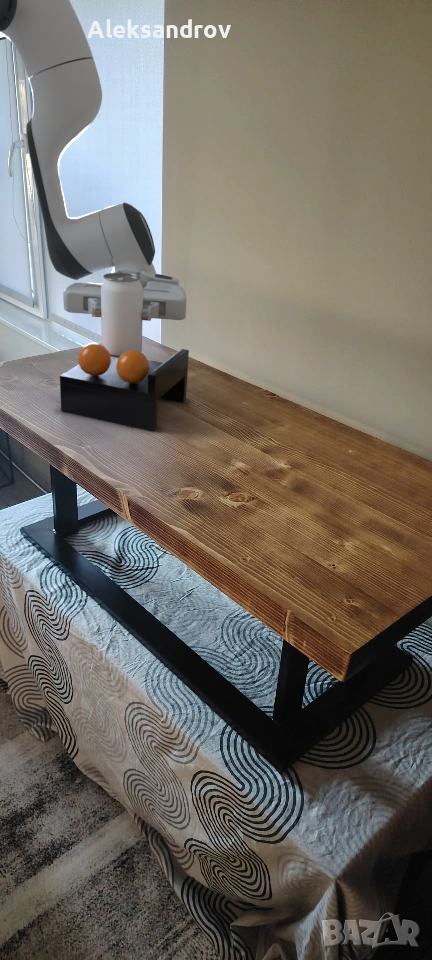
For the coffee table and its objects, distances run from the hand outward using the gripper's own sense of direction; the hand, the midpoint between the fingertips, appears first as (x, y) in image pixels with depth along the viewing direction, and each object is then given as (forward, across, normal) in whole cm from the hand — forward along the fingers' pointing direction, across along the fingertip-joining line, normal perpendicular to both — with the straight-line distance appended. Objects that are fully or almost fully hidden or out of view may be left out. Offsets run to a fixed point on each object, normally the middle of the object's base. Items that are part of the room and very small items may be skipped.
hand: (121, 313), depth 98 cm
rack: (+2, +1, +15) cm, 15 cm away
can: (-1, 0, +7) cm, 7 cm away
